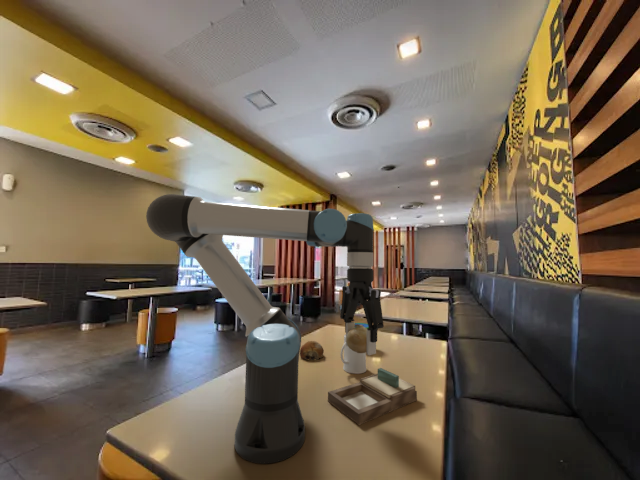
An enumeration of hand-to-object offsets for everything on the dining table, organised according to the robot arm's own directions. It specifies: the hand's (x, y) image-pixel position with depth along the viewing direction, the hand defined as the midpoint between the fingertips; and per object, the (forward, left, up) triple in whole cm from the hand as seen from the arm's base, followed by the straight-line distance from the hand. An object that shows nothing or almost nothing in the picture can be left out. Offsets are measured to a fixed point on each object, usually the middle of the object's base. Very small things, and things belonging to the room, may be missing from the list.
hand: (360, 349), depth 74 cm
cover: (+11, 0, -12) cm, 16 cm away
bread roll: (+9, +40, -15) cm, 44 cm away
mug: (+14, +20, -15) cm, 29 cm away
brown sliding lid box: (+5, 0, -15) cm, 16 cm away
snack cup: (+35, +39, -15) cm, 54 cm away
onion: (0, 0, -1) cm, 1 cm away
